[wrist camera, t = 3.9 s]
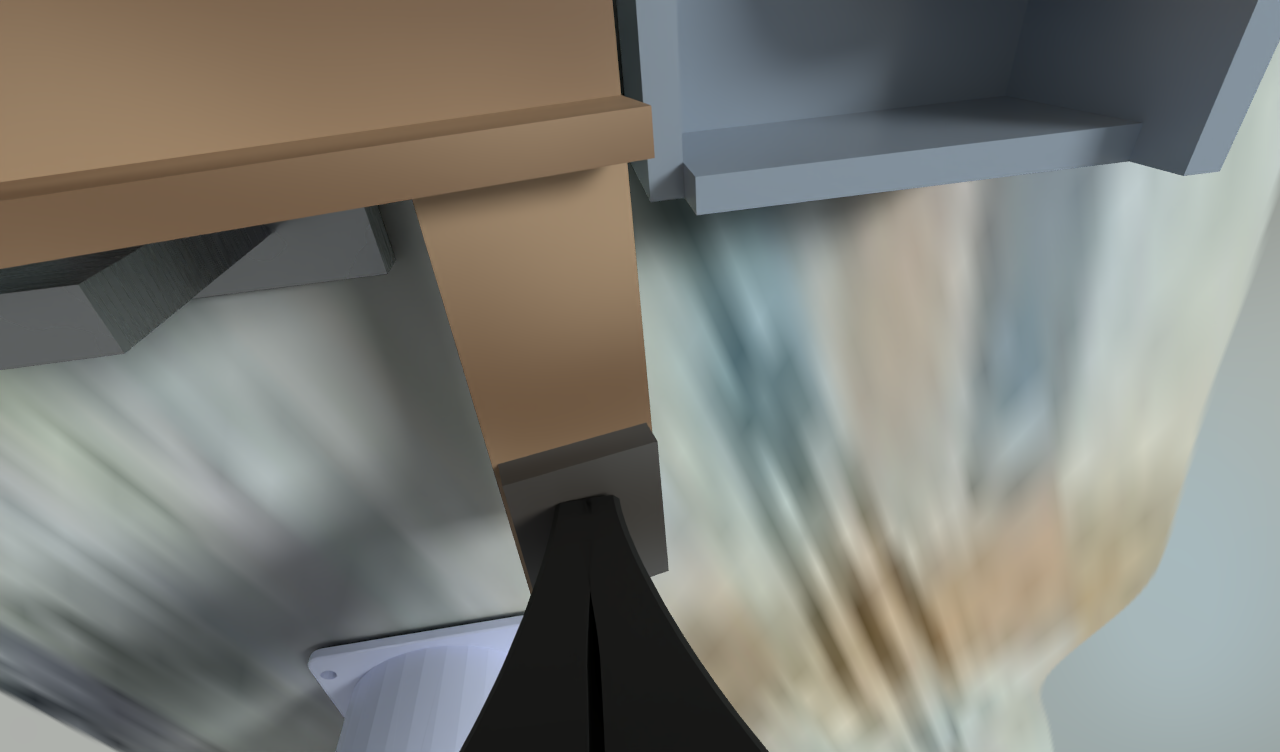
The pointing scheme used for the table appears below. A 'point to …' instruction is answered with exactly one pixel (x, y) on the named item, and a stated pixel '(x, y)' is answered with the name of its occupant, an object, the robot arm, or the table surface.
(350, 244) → the lever stand
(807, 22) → the blue-grey open box
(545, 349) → the lever
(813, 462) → the table surface
